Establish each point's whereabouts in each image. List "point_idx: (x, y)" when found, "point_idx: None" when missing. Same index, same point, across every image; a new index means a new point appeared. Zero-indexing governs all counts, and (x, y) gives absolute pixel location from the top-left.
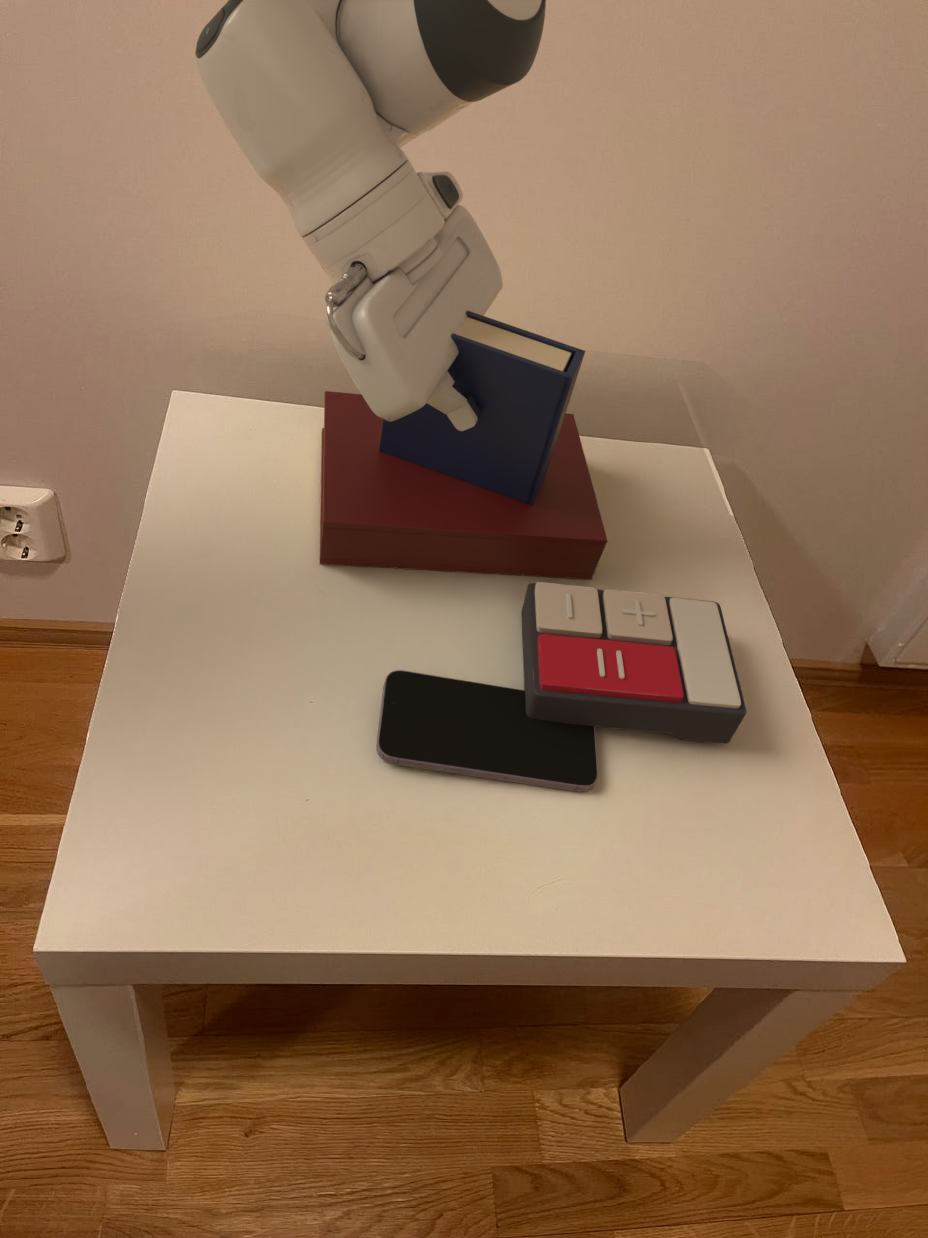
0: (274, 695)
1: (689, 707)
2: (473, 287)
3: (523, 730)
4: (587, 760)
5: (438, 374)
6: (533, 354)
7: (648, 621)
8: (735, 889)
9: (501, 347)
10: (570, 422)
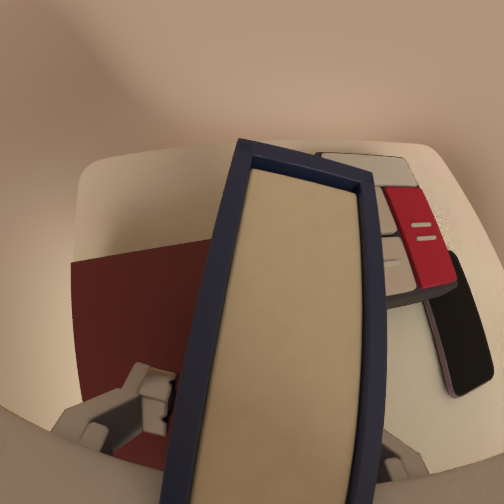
0: (471, 457)
1: (418, 187)
2: (14, 494)
3: (450, 296)
4: None
5: (480, 470)
6: (321, 262)
7: None
8: (449, 193)
9: (336, 367)
10: (88, 266)
